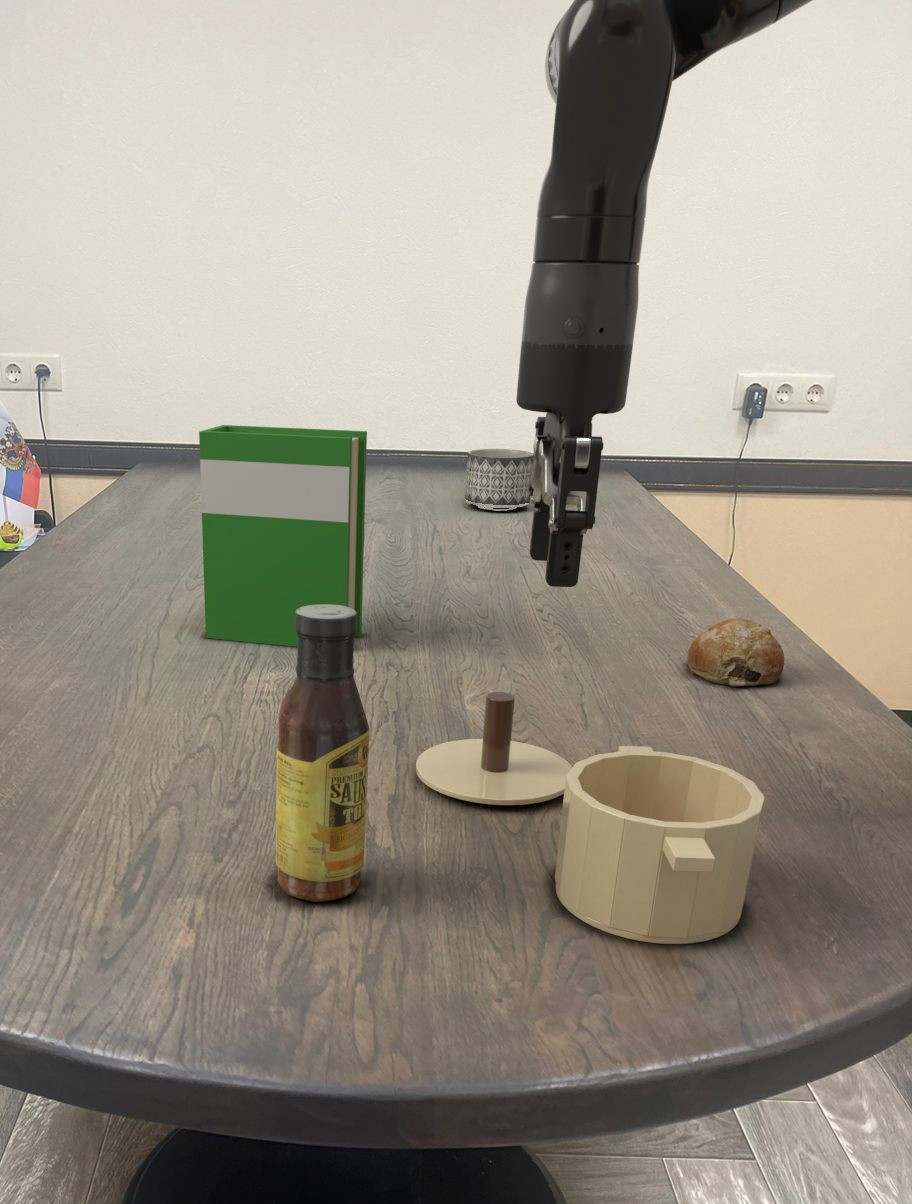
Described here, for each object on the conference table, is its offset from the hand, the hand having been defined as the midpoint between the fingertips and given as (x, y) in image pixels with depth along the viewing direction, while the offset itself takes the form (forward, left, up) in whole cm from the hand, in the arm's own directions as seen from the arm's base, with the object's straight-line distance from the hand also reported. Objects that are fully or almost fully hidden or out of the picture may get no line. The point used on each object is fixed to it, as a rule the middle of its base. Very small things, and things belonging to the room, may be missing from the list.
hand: (551, 572), depth 83 cm
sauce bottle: (+16, +14, -20) cm, 29 cm away
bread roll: (-27, -38, -20) cm, 51 cm away
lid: (+2, -6, -19) cm, 20 cm away
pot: (-7, +14, -20) cm, 25 cm away
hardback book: (+24, -48, -20) cm, 57 cm away
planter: (-10, -141, -20) cm, 143 cm away
